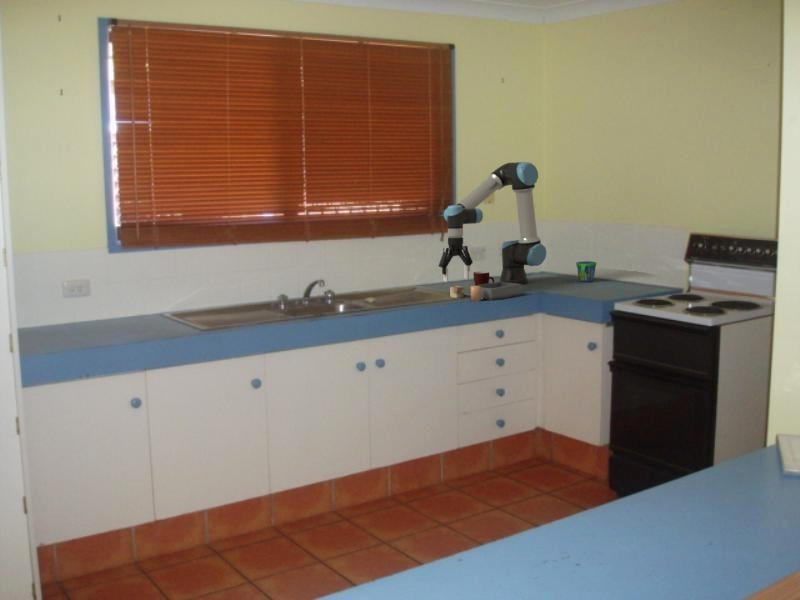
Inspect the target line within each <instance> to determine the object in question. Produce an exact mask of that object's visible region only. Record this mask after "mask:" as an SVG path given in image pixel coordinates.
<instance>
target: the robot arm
mask: <svg viewBox="0 0 800 600" xmlns="http://www.w3.org/2000/svg"><path fill="white" fill-rule="evenodd" d="M538 179H539V172H538V169H537V167H536V166H535V165H534V164H533V163H532V162H526V161H520V162H517V161H516V162H507V163H504V164H502V165H501V166H499V167H497V168H496V169H495V170H493V172H491V173H490V174H489V175H488V176H487V179H485V180H484V181H483V182H482V183H480V185H478V186H477V187H476V188H475V189H474V190H472V191H471V192H470V193H469V194H468V195H465V197H464V198H462V199H461V200H460V201H459V202H458V203H456V204H455V205H448V206H447V208H446V209H444V212H443V218H444V220H445V222H447V245H448V247H443V252H442V255H441V257H440V261H439V263H438V267H439V268H440V269H441V272H442V273H441V274H442V280H443V282H449V268H448V266H449V264H450V262H451V260H452V259H453V258H454V257H459V258H460V259H461V260H462V261H461V262H463V263H464V264H465V265H463V278H464V279H465V280H466V279H470V269H471V268H470V266H472V264H473V259H472V257H471V254H470V251H469V247H468V245H464V237H463V236H464V225H472V224H473V225H474V224H475V225H476V224H480V223H481V222H482V221H483V218H484V213H483V211H482V209H481V208H478V206H480V205H481V204H482V203H483V202H484V201H486V200H487V199H488V198H489V197H490V196H492V194H494V193H495V192H496V191H497V190H501V189H503V188H505V187H506V186H508V187H509V186H511V190H512V191H513V192H514V193H515V198H516V201H515V202H516V207H517V216H518V225H519V235H520V239H518V240H517V239H516V240H507V241H506V240H505V241H503V242H502V245H501V258H502V262H501V263H502V264H501V265H502V269H501V274H500V278H499V282H507V283H516V284H521V285H525V284H528V282H529V281H528V279H529V277H527V272H526V270H525V266H529V267H538V266H540V265H542V264H543V262H544V261H546V260H545V259H546V257H547V248H546V246H545V245H543V244H542V242H541V241H542V240H541V238H540V237H539V236H538V234H537V233H538V232H537V222H536V212H535V204H534V203H535V202H534V195H533V190H534V189H535V186H536V183H537V182H538Z"/></svg>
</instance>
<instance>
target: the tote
mask: <svg viewBox="0 0 800 600" xmlns="http://www.w3.org/2000/svg"><path fill="white" fill-rule="evenodd" d="M471 286H472V285H471ZM471 286H470V287H469V290H470V295H471ZM474 286H481V297H482V298H485V299H487V301H495V300H501V299H502V300H503V299H507V298H513V297H519V296H522V284H516V283H507V282H500V281H494V283H492V282H489V283H488V284H481V285H475V284H474ZM485 299H484V300H485Z"/></svg>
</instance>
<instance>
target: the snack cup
mask: <svg viewBox="0 0 800 600" xmlns="http://www.w3.org/2000/svg"><path fill="white" fill-rule="evenodd" d="M596 267H597V262H596V261H591V260H589V261H587V260H585V261H577V262H576V268H577V275H578V279H579V282H581V283H591V282H593V281H594V279H595V274H596Z"/></svg>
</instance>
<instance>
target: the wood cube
mask: <svg viewBox="0 0 800 600" xmlns="http://www.w3.org/2000/svg"><path fill="white" fill-rule="evenodd" d="M449 294H450V295H449V297H450V298H454V299H455V298H456V299H460V298H464V297H465V286H460V285H456V286H450V287H449Z"/></svg>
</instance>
